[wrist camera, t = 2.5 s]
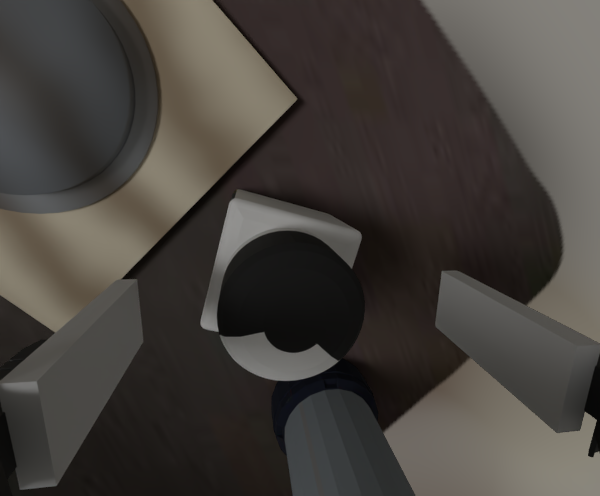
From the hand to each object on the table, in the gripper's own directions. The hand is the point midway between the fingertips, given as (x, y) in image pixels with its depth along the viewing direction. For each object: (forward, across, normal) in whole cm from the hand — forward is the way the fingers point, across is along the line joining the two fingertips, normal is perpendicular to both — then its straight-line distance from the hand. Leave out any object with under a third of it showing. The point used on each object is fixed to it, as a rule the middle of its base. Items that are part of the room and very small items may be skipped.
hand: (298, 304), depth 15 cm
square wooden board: (+10, -14, +10) cm, 20 cm away
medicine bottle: (+11, 0, 0) cm, 11 cm away
